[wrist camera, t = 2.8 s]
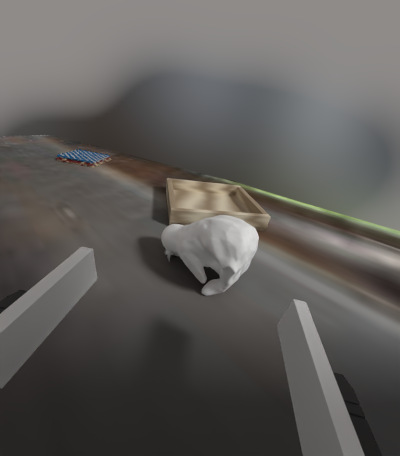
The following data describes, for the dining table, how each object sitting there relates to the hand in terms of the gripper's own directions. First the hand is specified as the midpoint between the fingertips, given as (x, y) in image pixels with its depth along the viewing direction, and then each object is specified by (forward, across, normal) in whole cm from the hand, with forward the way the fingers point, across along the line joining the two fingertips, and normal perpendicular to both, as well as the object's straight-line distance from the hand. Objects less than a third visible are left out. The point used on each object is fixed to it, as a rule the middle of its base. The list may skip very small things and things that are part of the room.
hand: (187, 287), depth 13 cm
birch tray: (+29, 0, -7) cm, 30 cm away
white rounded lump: (+10, 0, -7) cm, 12 cm away
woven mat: (+42, -38, -8) cm, 58 cm away
